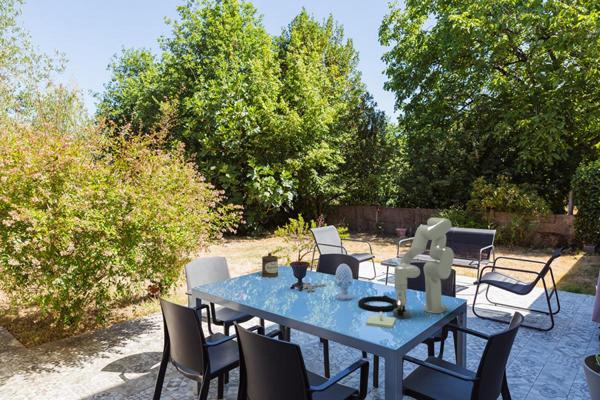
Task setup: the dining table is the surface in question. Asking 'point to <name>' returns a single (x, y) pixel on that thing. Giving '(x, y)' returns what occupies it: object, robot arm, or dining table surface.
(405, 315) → the grey rectangular frame
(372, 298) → the cable lock
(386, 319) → the keeper board
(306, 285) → the pulley system
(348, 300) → the dining table surface
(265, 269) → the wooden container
